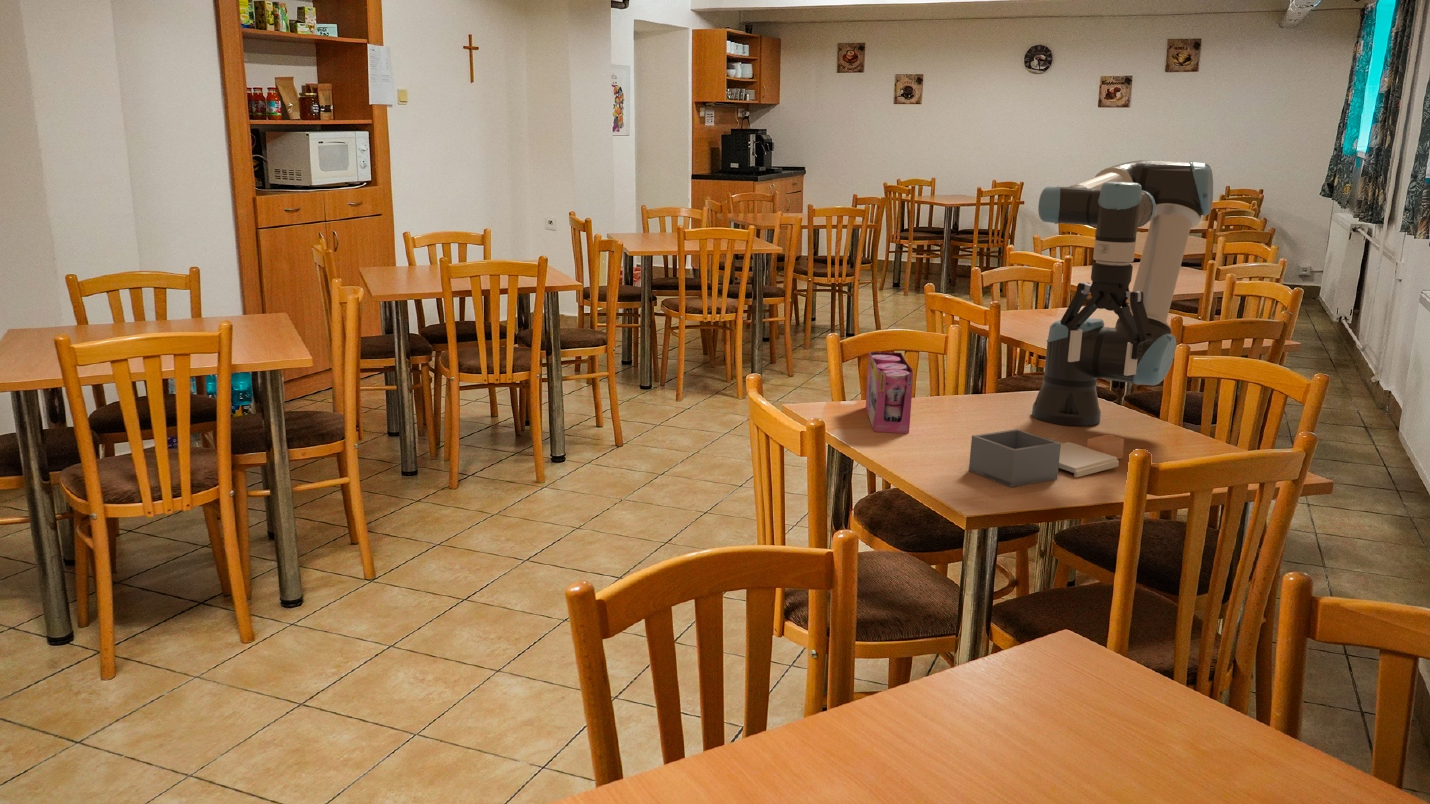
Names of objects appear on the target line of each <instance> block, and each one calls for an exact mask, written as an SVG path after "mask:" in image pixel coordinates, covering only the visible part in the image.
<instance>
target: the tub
mask: <svg viewBox="0 0 1430 804" xmlns="http://www.w3.org/2000/svg"><path fill="white" fill-rule="evenodd" d="M970 441H971V442H970V453H969V464H968V472H971V473H974V474H976V475H978V476H981V477H983V478H986V479H989V480H991V481H994V482H996V483H999V484H1000V485H1004V486H1007V487H1009V488H1014V487H1015V488H1016V487H1020V486H1026V485H1030V484H1031V485H1032V484H1037V483H1042V482H1048V481H1052V480H1053V481H1054V480H1058V474H1059V473H1058V472H1059V468H1058V466H1059V457H1060V448H1061V444H1062V443H1061V442H1058V441H1056V440H1052V439H1050V438H1047V437H1042V436H1040V435H1037V434H1033V433H1031V432H1028V431H1025V430H1021V429H1018V428H1016V429H1008V430H1004V431H996V432H988V433H987V432H986V433H980V434H974V435H971V440H970Z"/></svg>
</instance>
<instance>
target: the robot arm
mask: <svg viewBox="0 0 1430 804" xmlns="http://www.w3.org/2000/svg"><path fill="white" fill-rule="evenodd" d="M1213 198H1214V176H1213V169H1212V168H1211V166H1210V165H1209V164H1208V163H1204V162H1195V161H1193V160H1189V161H1169V160H1168V161H1163V160H1149V159H1148V160H1146V159H1145V160H1134V161H1132V160H1131V161H1127V162H1124V163H1120V164H1115V165H1112V166H1110V167H1106V168H1104V169H1102V170H1100V171H1099V172H1098V173H1097V174H1096V175H1095V176H1094V177H1092V178H1090V179H1087V180H1084V181H1082V182H1078V183H1076V184H1072V185H1070V186H1060V185H1056V186H1046V187H1044V189H1042V191H1041V193H1040V195H1039V200H1038V206H1037V207H1038V208H1037V210H1038V216H1039V219H1040V220H1041V221H1042V222H1043V223H1052V224H1055V225H1058V224H1063V225H1064V224H1065V225H1080V226H1091V227H1092V226H1093V227H1094V226H1095V227H1096V228H1095V237H1094V248H1093V254H1092V255H1093V257H1092V259H1093V260H1094V261H1095V262H1093V263H1092V265H1091V272H1090V273H1091V275H1090V280H1091V284H1090V282H1089V281H1086V282H1078V283H1077V287H1076V291H1075V294H1074V296H1073V298H1072V299H1071V301H1070V303H1069V304H1068V307H1067V309H1066V311H1065V313H1064V314H1063V316H1062V318H1061V319H1060V320H1056V321H1054V322H1053V323H1051V324H1050V326H1049V330H1048V335H1047V339H1046V352H1045V360H1044V361H1045V363H1044V371H1043V372H1044V373H1043V381H1042V385H1041V387H1040V389H1039V391H1038V394H1037V396H1036V397H1035V401H1034V402H1033V404H1032V410H1031V416H1033V418H1035V419H1038V420H1040V421H1043V422H1046V423H1050V424H1056V425H1062V426H1063V425H1064V426H1074V427H1075V426H1077V427H1083V426H1094V425H1097V424H1099V423H1100V422H1101V414H1102V412H1101V411H1102V410H1101V409H1100V406H1099V405H1100V403H1099V398H1098V392H1097V379H1102V380H1103V379H1104V380H1109V381H1114V382H1115V381H1116V382H1120V383H1121V382H1123V383H1129V384H1134V385H1137V386H1140V385H1144V386H1145V385H1147V386H1156V385H1159V384H1160V383H1161V382H1163V381H1164V379H1166V377H1167V375H1168V373H1169V372H1170V369H1171V367H1172V365H1173V361H1174V357H1175V352H1176V349H1177V338H1176V336H1175V335H1173V334H1172V327H1171V325H1170V324H1169V323H1168V322H1167V321H1168V316H1169V313H1170V308H1171V305H1172V302H1173V298H1174V293H1175V289H1176V286H1177V282H1178V278H1179V274H1180V271H1181V266H1182V262H1183V258H1184V256H1185V255H1184V254H1185V251H1186V247H1187V243H1188V239H1189V235H1190V231H1191V229H1193V228H1194V227H1196V226H1198V225H1199V223H1200V221H1201V217H1202V216H1204V217H1205V216H1208V215H1210V214H1211V211H1212V209H1213V208H1212V207H1213V203H1214V201H1213V200H1214V199H1213ZM1149 222H1150V223H1149ZM1148 223H1149V226H1148V227H1149V228H1148V231H1147V235H1146V239H1145V242H1144V246H1143V249H1142V253H1141V256H1140V261H1139V265H1138V267H1137V268H1138V269H1137V272H1136V276H1135V280H1134V283H1133V288H1132V290H1131V291H1130V284H1131V282H1132V277H1133V269H1134V268H1133V264H1132V263H1133V262H1134V260H1135V251H1136V245H1137V244H1136V242H1137V241H1136V240H1137V234H1138V233H1137V232H1138V228H1142V227H1144V226H1145V225H1146V224H1148ZM1088 295H1091V297H1090V299H1089V300H1088V301H1087V302H1086V303H1085V301H1086V299H1087V298H1088ZM1127 301H1128V302H1129V303H1128V302H1127ZM1084 303H1085V305H1084ZM1083 305H1084V306H1083ZM1082 306H1083V307H1082ZM1098 309H1099V310H1103V309H1104V310H1106V311H1111V312H1112V311H1113V312H1114V314H1115V315H1117V316H1118V318H1117V321H1116V322H1115V323H1116V324H1115V326H1114V327H1109V326H1105V322H1104V320H1103V319H1101V318H1092V317H1091V316H1092V315H1093V314H1094V313H1095V312H1096V310H1098Z"/></svg>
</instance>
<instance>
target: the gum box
mask: <svg viewBox="0 0 1430 804" xmlns="http://www.w3.org/2000/svg"><path fill="white" fill-rule="evenodd" d="M867 363H868V364H867V377H866V378H867V380H866V395H865V397H866V398H865V409H866V412H867V415H868V417H869V421H870V423H871V427H872V429H873V432H877V433H879V432H880V433H894V434H895V433H896V434H899V433H900V434H910V427H911V426H910V425H911V412H912V411H911V409H912V399H913V398H912V397H913V396H912V395H913V380H914V370H913V368H912V367H911V365H910V364H909V363H908V362H907V360H906V358H905V356H903V353H902V352H891V351H890V352H889V351H887V352H886V351H885V352H883V351H869V352H868V360H867Z"/></svg>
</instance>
